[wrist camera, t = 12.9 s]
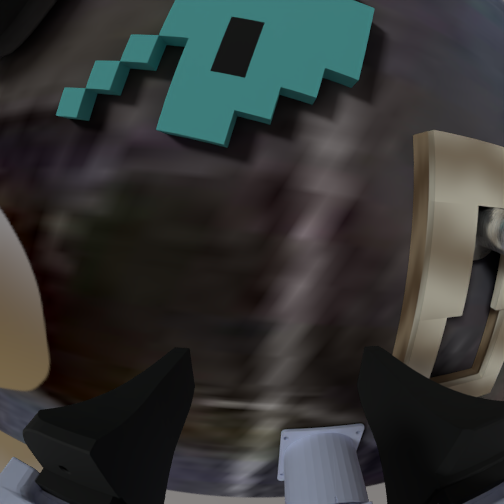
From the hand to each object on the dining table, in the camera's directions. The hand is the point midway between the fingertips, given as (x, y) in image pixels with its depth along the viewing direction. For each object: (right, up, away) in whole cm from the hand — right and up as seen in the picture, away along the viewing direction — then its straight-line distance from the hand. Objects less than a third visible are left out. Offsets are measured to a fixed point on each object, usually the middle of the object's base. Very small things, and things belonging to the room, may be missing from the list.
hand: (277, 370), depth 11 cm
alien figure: (-3, +22, +5) cm, 23 cm away
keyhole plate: (+16, +2, +8) cm, 19 cm away
